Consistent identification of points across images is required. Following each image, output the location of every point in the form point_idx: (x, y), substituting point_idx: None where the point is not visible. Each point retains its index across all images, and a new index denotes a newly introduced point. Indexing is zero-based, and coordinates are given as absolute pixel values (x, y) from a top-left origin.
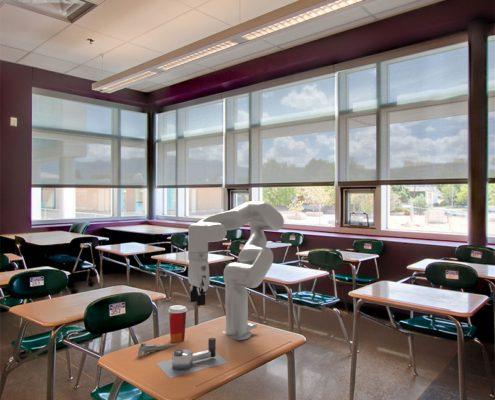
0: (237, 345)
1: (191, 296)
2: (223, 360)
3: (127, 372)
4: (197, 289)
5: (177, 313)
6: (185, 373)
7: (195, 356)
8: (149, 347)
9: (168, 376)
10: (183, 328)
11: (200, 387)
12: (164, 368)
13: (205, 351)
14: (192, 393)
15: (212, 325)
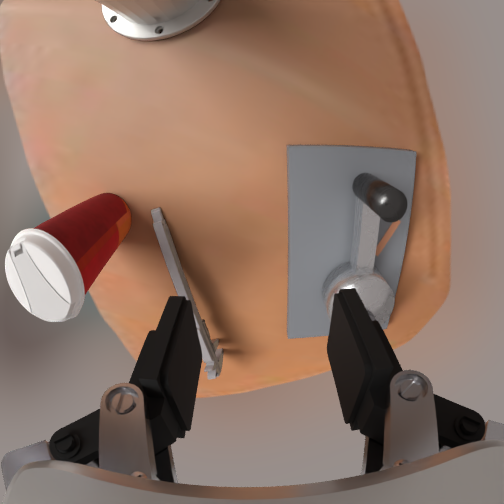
0: (262, 20)
1: (195, 397)
2: (396, 157)
3: (274, 377)
4: (144, 403)
5: (81, 292)
6: (393, 292)
7: (372, 261)
8: (209, 349)
9: None
10: (105, 221)
11: (442, 270)
12: None
13: (368, 219)
14: (446, 292)
15: (30, 58)
